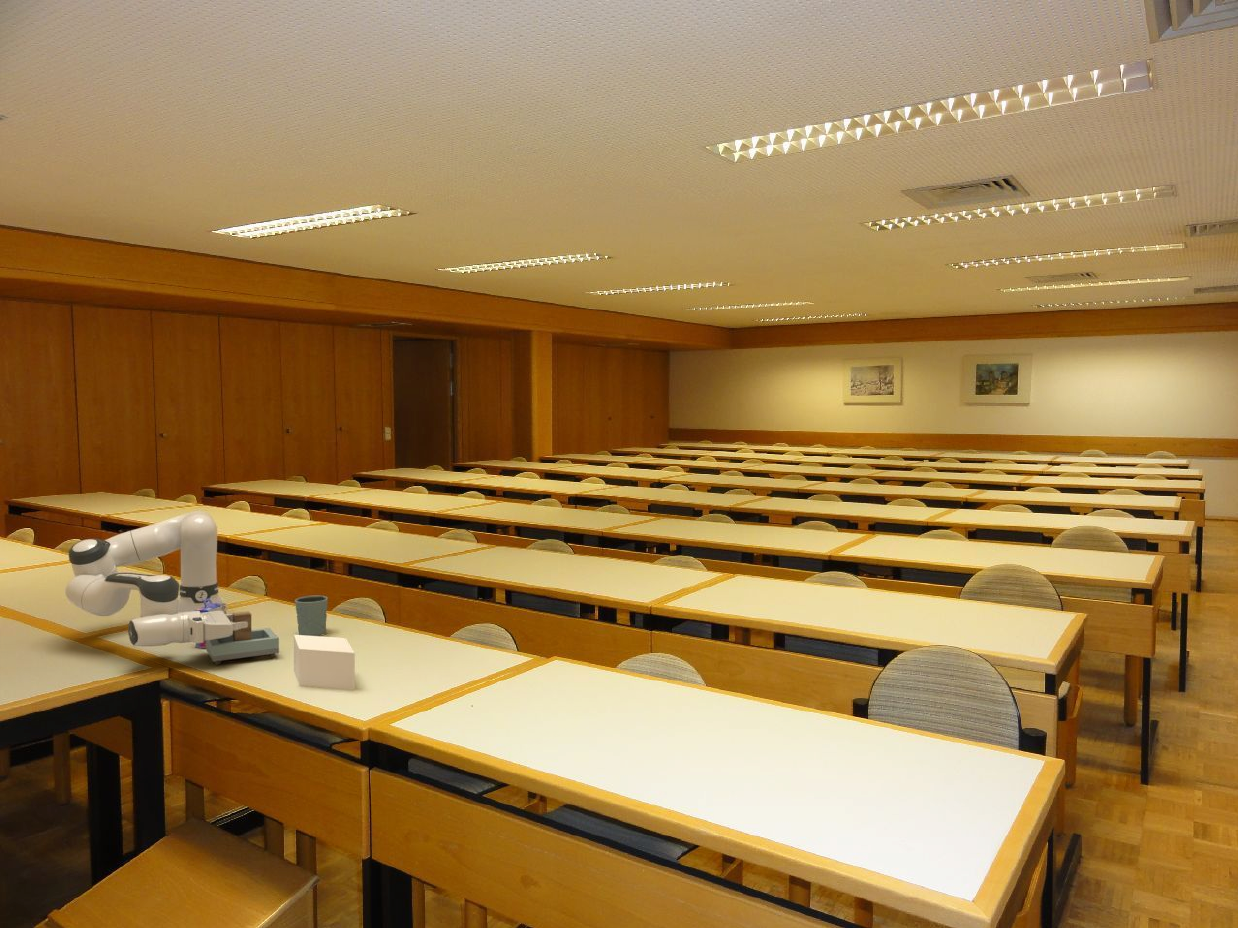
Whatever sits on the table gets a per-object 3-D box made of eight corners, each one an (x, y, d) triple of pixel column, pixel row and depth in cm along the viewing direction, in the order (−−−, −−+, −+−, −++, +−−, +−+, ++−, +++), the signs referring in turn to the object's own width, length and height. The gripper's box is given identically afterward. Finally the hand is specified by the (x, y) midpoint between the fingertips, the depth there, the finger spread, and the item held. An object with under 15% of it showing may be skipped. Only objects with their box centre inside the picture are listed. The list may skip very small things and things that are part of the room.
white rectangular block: (330, 697, 218) (330, 658, 217) (270, 675, 235) (270, 639, 235) (377, 684, 229) (377, 647, 229) (316, 664, 247) (316, 629, 246)
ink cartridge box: (212, 639, 271) (211, 595, 270) (228, 640, 270) (227, 596, 270) (193, 648, 261) (193, 602, 260) (210, 648, 261) (209, 602, 260)
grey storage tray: (206, 655, 253) (206, 635, 253) (269, 646, 263) (269, 627, 263) (212, 667, 242) (212, 646, 241) (278, 658, 251) (278, 637, 251)
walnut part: (232, 645, 253) (232, 613, 252) (248, 643, 255) (248, 611, 255) (235, 649, 249) (234, 616, 249) (251, 647, 252) (251, 614, 251)
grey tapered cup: (334, 632, 282) (334, 597, 281) (310, 639, 273) (310, 603, 272) (312, 628, 287) (312, 594, 286) (288, 635, 278) (288, 599, 277)
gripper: (189, 629, 253) (238, 623, 261) (197, 645, 236) (250, 638, 244) (189, 608, 253) (238, 603, 261) (197, 622, 236) (250, 617, 244)
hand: (244, 620), depth 252 cm, fingers open, 8 cm apart
